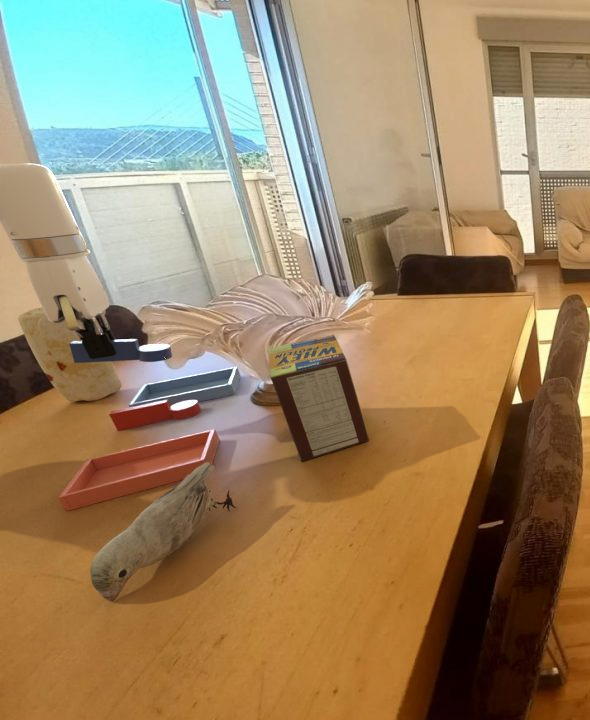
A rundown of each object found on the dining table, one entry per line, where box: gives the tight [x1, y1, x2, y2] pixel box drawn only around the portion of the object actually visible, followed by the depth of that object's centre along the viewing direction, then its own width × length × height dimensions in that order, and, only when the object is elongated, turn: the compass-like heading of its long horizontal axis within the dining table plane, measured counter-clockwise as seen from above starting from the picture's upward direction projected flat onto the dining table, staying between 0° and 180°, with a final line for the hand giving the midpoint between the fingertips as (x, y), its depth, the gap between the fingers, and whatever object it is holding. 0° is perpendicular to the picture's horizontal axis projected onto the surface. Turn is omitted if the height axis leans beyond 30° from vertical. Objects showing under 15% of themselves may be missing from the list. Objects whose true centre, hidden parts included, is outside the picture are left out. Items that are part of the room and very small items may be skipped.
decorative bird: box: [89, 462, 237, 603], centre depth 58 cm, size 5×16×7 cm, turn 177°
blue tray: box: [128, 366, 242, 408], centre depth 101 cm, size 16×11×2 cm
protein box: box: [267, 334, 370, 462], centre depth 82 cm, size 10×15×16 cm
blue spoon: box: [69, 338, 173, 363], centre depth 83 cm, size 12×4×4 cm, turn 120°
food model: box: [17, 307, 123, 402], centre depth 98 cm, size 10×7×20 cm
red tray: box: [57, 428, 221, 512], centre depth 75 cm, size 16×11×2 cm
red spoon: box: [109, 400, 202, 431], centre depth 91 cm, size 12×4×4 cm, turn 122°
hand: (105, 354), depth 82 cm, fingers closed on blue spoon, 1 cm apart
